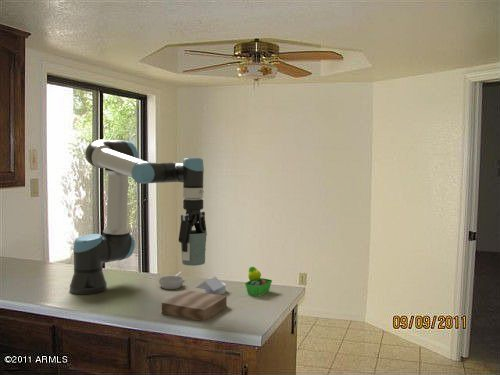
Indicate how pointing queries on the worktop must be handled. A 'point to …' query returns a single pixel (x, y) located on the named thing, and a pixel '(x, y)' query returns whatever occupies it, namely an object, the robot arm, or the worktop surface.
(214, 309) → the walnut stand
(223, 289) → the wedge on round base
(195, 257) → the grey cup
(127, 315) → the worktop surface
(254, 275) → the fruit basket
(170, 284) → the small pan
